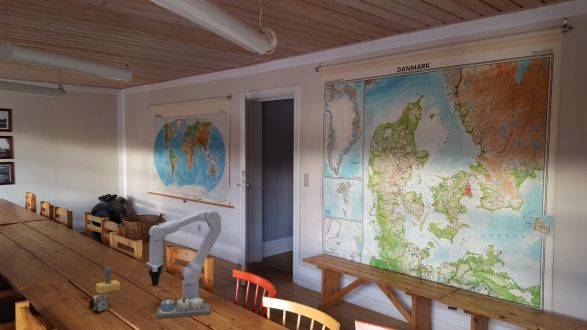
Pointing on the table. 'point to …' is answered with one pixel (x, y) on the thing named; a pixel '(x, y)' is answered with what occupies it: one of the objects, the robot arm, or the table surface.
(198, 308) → the gear board
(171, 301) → the slate gear
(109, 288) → the rubber stamp
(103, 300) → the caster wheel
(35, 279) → the table surface
